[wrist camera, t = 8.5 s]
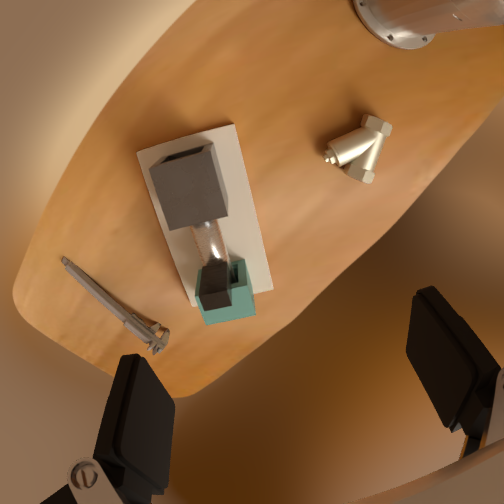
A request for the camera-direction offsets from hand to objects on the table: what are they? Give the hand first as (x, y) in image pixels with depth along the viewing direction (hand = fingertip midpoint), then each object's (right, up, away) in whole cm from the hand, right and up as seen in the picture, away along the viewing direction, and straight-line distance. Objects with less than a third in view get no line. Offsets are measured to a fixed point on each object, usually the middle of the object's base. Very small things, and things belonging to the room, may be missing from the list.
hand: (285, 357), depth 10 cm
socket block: (-5, 0, +33) cm, 33 cm away
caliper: (-22, -3, +35) cm, 41 cm away
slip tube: (-6, +4, +29) cm, 30 cm away
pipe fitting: (+11, +17, +27) cm, 34 cm away
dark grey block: (-8, +12, +26) cm, 30 cm away
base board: (-6, +7, +30) cm, 32 cm away
